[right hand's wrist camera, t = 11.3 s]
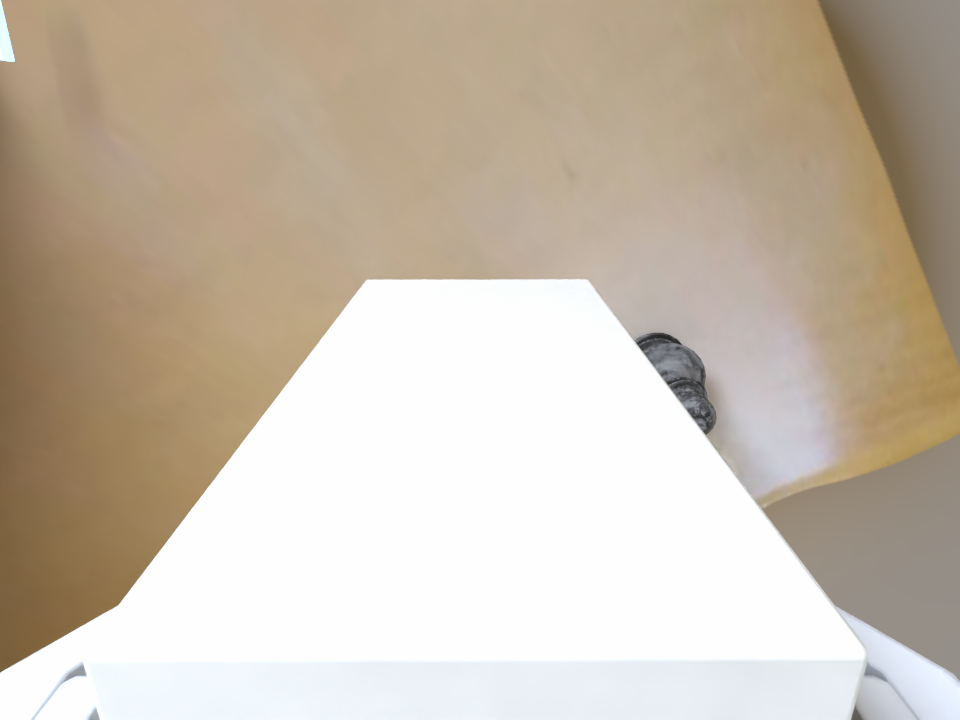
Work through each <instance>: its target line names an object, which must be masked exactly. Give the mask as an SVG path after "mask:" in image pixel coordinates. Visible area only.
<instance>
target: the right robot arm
mask: <svg viewBox="0 0 960 720" xmlns="http://www.w3.org/2000/svg"><path fill="white" fill-rule="evenodd" d="M0 60H4V61H14V56H13V52H12V48H11V43H10V39H9V35H8V30H7V26H6V22H5V17H4V13H3V9H2V4H1V0H0ZM118 606H119V605H118ZM118 606H116V607H115V608H113V609H111V610H109V611H108V612H106V613H104V614H102V615H101V616H99V617H97V618H95V619H94V620H92V621H90V622H88V623H87V624H85V625H83V626H81V627H80V628H78V629H76V630H74V631H72V632H71V633H69V634H67V635H65V636H64V637H62V638H60V639H58V640H57V641H55V642H53V643H51V644H50V645H48V646H46V647H44V648H43V649H41V650H39V651H37V652H36V653H34V654H32V655H30V656H29V657H27V658H25V659H23V660H22V661H20V662H18V663H16V664H15V665H13V666H11V667H9V668H7V669H6V670H4V671H2V672H0V720H100V718H99V715H98V712H97V708H96V705H95V701H94V698H93V695H92V691H91V688H90V685H89V681H88V678H87V674H86V671H85V668H84V664H83V655H84V652H85V649H86V648H87V646H88V645H89V644H90V642H91V641H92V640H93V638H94V637H95V636H96V634H97V633H98V632H99V630H100V629H101V628H102V627H103V625H104V624H105V623H106V621H107V620H108V619H109V617H110V616H111V615H112V613H113V612H114V611H115V609H116V608H117V607H118ZM835 607H836V608H837V609H838V611H839V612H840V613H841V615H842V616H843V617H844V619H845V620H846V621H847V623H848V624H849V625H850V627H851V628H852V629H853V631H854V632H855V633H856V635H857V636H858V637H859V638H860V640H861V641H862V642H863V644H864V645H865V647H866V650H867V653H868V662H867V666H866V669H865V673H864V676H863V680H862V683H861V687H860V690H859V693H858V697H857V700H856V704H855V707H854V711H853V714H852V718H851V720H960V681H959V680H958V679H957V678H956V677H955V675H954V674H953V673H951V672H949V671H947V670H946V669H944V668H942V667H941V666H939V665H937V664H935V663H934V662H932V661H930V660H928V659H927V658H925V657H923V656H921V655H920V654H918V653H916V652H915V651H913V650H911V649H909V648H908V647H906V646H904V645H902V644H901V643H899V642H897V641H895V640H894V639H892V638H890V637H888V636H887V635H885V634H883V633H882V632H880V631H878V630H876V629H875V628H873V627H871V626H869V625H868V624H866V623H864V622H863V621H861V620H859V619H857V618H856V617H854V616H852V615H850V614H849V613H847V612H845V611H843V610H842V609H840V608H838V607H837V606H835Z"/></svg>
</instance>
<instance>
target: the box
mask: <svg viewBox="0 0 960 720" xmlns="http://www.w3.org/2000/svg"><path fill="white" fill-rule="evenodd" d="M867 662H868V653H867V650H866V647H865V645H864V644H863V642H862V641H861V640H860V638H859V637H858V636H857V635H856V633H855V632H854V631H853V629H852V628H851V627H850V625H849V624H848V623H847V621H846V620H845V619H844V617H843V616H842V615H841V613H840V612H839V611H838V609H837V608H836V607H835V605H834V604H833V603H832V601H831V600H830V599H829V597H828V596H827V595H826V594H825V592H824V591H823V590H822V588H821V587H820V586H819V584H818V583H817V582H816V580H815V579H814V578H813V576H812V575H811V574H810V572H809V571H808V570H807V568H806V567H805V566H804V564H803V563H802V562H801V560H800V559H799V558H798V557H797V555H796V554H795V553H794V551H793V550H792V549H791V547H790V546H789V545H788V543H787V542H786V541H785V539H784V538H783V537H782V535H781V534H780V533H779V531H778V530H777V529H776V527H775V526H774V525H773V524H772V522H771V521H770V519H769V518H768V517H767V516H766V514H765V513H764V512H763V510H762V509H761V508H760V506H759V505H758V504H757V502H756V501H755V500H754V498H753V497H752V496H751V494H750V493H749V492H748V490H747V489H746V488H745V486H744V485H743V484H742V482H741V481H740V480H739V479H738V477H737V476H736V475H735V473H734V472H733V471H732V469H731V468H730V467H729V465H728V464H727V463H726V461H725V460H724V459H723V457H722V456H721V455H720V453H719V452H718V451H717V449H716V448H715V447H714V445H713V444H712V443H711V442H710V440H709V439H708V438H707V436H706V435H705V434H704V432H703V431H702V430H701V428H700V427H699V426H698V424H697V423H696V422H695V420H694V419H693V418H692V416H691V415H690V414H689V412H688V411H687V410H686V408H685V407H684V406H683V404H682V403H681V402H680V401H679V399H678V398H677V397H676V395H675V394H674V393H673V391H672V390H671V389H670V387H669V386H668V385H667V383H666V382H665V381H664V379H663V378H662V377H661V375H660V374H659V373H658V371H657V370H656V369H655V367H654V366H653V365H652V364H651V362H650V361H649V360H648V358H647V357H646V356H645V354H644V353H643V352H642V350H641V349H640V348H639V346H638V345H637V344H636V342H635V341H634V340H633V338H632V337H631V336H630V334H629V333H628V332H627V330H626V329H625V328H624V326H623V325H622V324H621V323H620V321H619V320H618V319H617V317H616V316H615V315H614V313H613V312H612V311H611V309H610V308H609V307H608V305H607V304H606V303H605V301H604V300H603V299H602V297H601V296H600V295H599V293H598V292H597V291H596V289H595V288H594V287H593V286H592V284H591V283H590V282H589V280H366V281H365V282H364V284H363V285H362V286H361V288H360V289H359V290H358V292H357V293H356V294H355V296H354V297H353V298H352V300H351V301H350V302H349V303H348V305H347V306H346V307H345V309H344V310H343V311H342V313H341V314H340V315H339V317H338V318H337V319H336V321H335V322H334V323H333V324H332V326H331V327H330V328H329V330H328V331H327V332H326V334H325V335H324V336H323V338H322V339H321V340H320V342H319V343H318V344H317V345H316V347H315V348H314V349H313V351H312V352H311V353H310V355H309V356H308V357H307V359H306V360H305V361H304V363H303V364H302V365H301V366H300V368H299V369H298V370H297V372H296V373H295V374H294V376H293V377H292V378H291V380H290V381H289V382H288V384H287V385H286V386H285V388H284V389H283V390H282V391H281V393H280V394H279V395H278V397H277V398H276V399H275V401H274V402H273V403H272V405H271V406H270V407H269V409H268V410H267V411H266V412H265V414H264V415H263V416H262V418H261V419H260V420H259V422H258V423H257V424H256V426H255V427H254V428H253V430H252V431H251V432H250V433H249V435H248V436H247V437H246V439H245V440H244V441H243V443H242V444H241V445H240V447H239V448H238V449H237V451H236V452H235V453H234V454H233V456H232V457H231V458H230V460H229V461H228V462H227V464H226V465H225V466H224V468H223V469H222V470H221V472H220V473H219V474H218V476H217V477H216V478H215V479H214V481H213V482H212V483H211V485H210V486H209V487H208V489H207V490H206V491H205V493H204V494H203V495H202V497H201V498H200V499H199V500H198V502H197V503H196V504H195V506H194V507H193V508H192V510H191V511H190V512H189V514H188V515H187V516H186V518H185V519H184V520H183V521H182V523H181V524H180V525H179V527H178V528H177V529H176V531H175V532H174V533H173V535H172V536H171V537H170V539H169V540H168V541H167V542H166V544H165V545H164V546H163V548H162V549H161V550H160V552H159V553H158V554H157V556H156V557H155V558H154V560H153V561H152V562H151V563H150V565H149V566H148V567H147V569H146V570H145V571H144V573H143V574H142V575H141V577H140V578H139V579H138V581H137V582H136V583H135V585H134V586H133V587H132V588H131V590H130V591H129V592H128V594H127V595H126V596H125V598H124V599H123V600H122V602H121V603H120V604H119V606H118V607H117V608H116V609H115V611H114V612H113V613H112V615H111V616H110V617H109V619H108V620H107V621H106V623H105V624H104V625H103V627H102V628H101V629H100V630H99V632H98V633H97V634H96V636H95V637H94V638H93V640H92V641H91V642H90V644H89V645H88V646H87V648H86V649H85V652H84V655H83V664H84V668H85V671H86V674H87V678H88V681H89V685H90V688H91V691H92V695H93V698H94V701H95V705H96V708H97V712H98V715H99V718H100V720H851V718H852V714H853V711H854V707H855V704H856V700H857V697H858V693H859V690H860V687H861V683H862V680H863V676H864V673H865V669H866V666H867Z"/></svg>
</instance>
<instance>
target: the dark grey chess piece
mask: <svg viewBox="0 0 960 720" xmlns="http://www.w3.org/2000/svg"><path fill="white" fill-rule="evenodd" d="M635 342H636V344H637V345H638V346H639V348H640V349H641V350H642V352H643V353H644V354H645V356H646V357H647V358H648V360H649V361H650V362H651V364H652V365H653V366H654V367H655V369H656V370H657V371H658V373H659V374H660V375H661V377H662V378H663V379H664V381H665V382H666V383H667V385H668V386H669V387H670V389H671V390H672V391H673V393H674V394H675V395H676V397H677V398H678V399H679V401H680V402H681V403H682V404H683V406H684V407H685V408H686V410H687V411H688V412H689V414H690V415H691V416H692V418H693V419H694V420H695V422H696V423H697V424H698V426H699V427H700V428H701V430H702V431H703V432H704V434H705V435H706V434H707V433H709V432H710V431H711V429H712V428H713V427H714V425H715V422H716V412H715V410H714V407H713V406H712V404H711V403H710V402H709V401H708V400H707V392H706V390H705V387H704V383H705V369H704V365H703V363H702V361H701V359H700V358H699V357H698V355H697V354H696V353H695V352H694V351H693V350H691V349H689V348H688V347H686V346H683V345H682V344H681V343H680V342H679V341H678V340H677V339H676V338H674V337H672V336H671V335H667V334H664V333H651V334H646V335H644V336H642V337H640V338H638V339H636V340H635Z"/></svg>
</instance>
